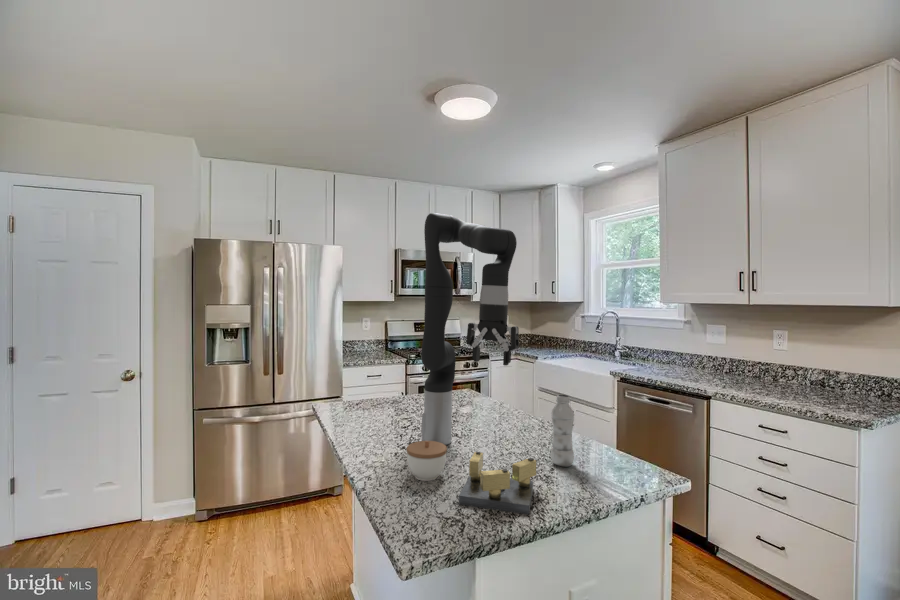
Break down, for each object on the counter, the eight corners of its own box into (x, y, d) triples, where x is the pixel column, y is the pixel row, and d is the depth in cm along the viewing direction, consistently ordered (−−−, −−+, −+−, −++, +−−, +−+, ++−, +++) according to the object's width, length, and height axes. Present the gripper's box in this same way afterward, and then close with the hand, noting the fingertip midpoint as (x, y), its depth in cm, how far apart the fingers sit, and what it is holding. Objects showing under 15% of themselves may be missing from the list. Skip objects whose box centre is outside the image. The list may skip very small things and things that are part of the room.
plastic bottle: (561, 471, 117) (562, 399, 117) (545, 462, 123) (546, 394, 123) (578, 467, 120) (580, 397, 120) (562, 459, 126) (563, 392, 126)
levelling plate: (458, 504, 97) (459, 489, 97) (470, 481, 109) (470, 468, 109) (529, 514, 93) (529, 499, 93) (533, 489, 105) (533, 476, 105)
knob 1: (479, 484, 103) (479, 460, 103) (467, 482, 103) (468, 459, 103) (483, 473, 109) (484, 451, 109) (473, 472, 109) (473, 450, 109)
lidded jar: (399, 480, 109) (399, 444, 109) (416, 465, 119) (417, 432, 119) (437, 487, 105) (438, 450, 105) (452, 471, 115) (452, 437, 115)
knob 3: (520, 490, 100) (520, 466, 100) (511, 485, 102) (511, 462, 102) (536, 482, 104) (537, 459, 104) (528, 479, 106) (528, 456, 106)
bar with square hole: (483, 499, 95) (483, 474, 95) (479, 494, 97) (480, 469, 97) (510, 497, 96) (510, 472, 96) (505, 491, 99) (506, 467, 99)
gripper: (524, 304, 112) (521, 364, 112) (476, 301, 119) (473, 358, 119) (514, 304, 106) (510, 368, 106) (463, 301, 113) (461, 361, 113)
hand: (490, 363), depth 113 cm, fingers open, 8 cm apart
